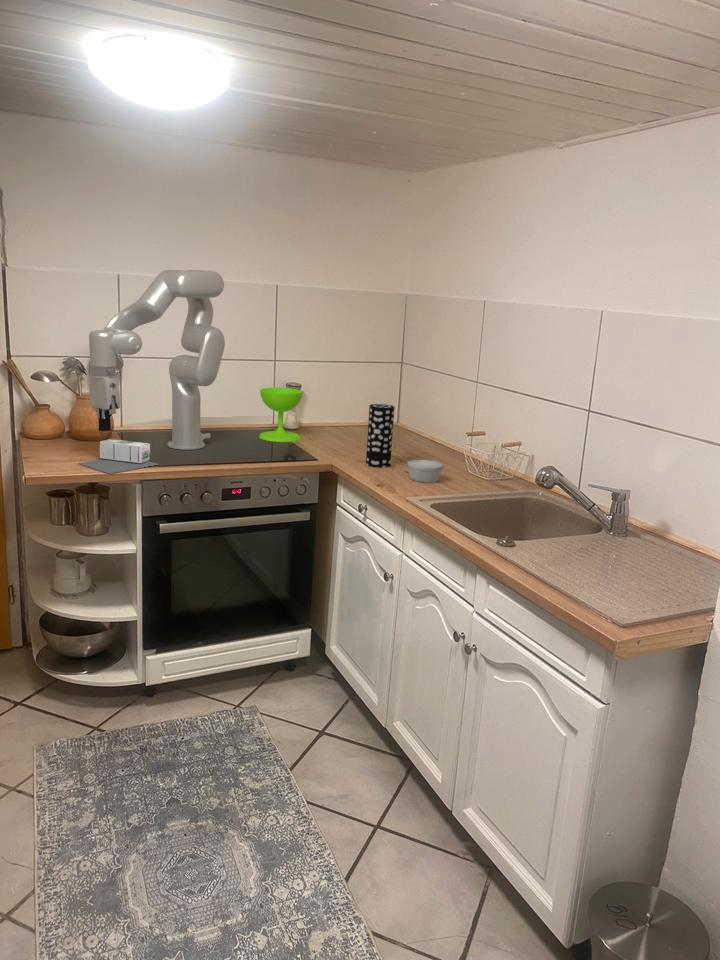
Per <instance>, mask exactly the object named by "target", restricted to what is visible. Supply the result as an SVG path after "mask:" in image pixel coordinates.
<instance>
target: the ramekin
mask: <svg viewBox="0 0 720 960" xmlns="http://www.w3.org/2000/svg"><path fill="white" fill-rule="evenodd" d="M407 468H408V469H407V470H408V477H409V479H410V480H411V481H413V482H417V483H422V484H423V483H424V484H426V483H427V484H433V483H437V482H438V481H439V480H440V478H441V475H442V470H443V464H442V463H441V462H439V461H436V460H430V459H429V460H427V459H413V460H408V461H407Z"/></svg>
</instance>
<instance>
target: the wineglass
mask: <svg viewBox="0 0 720 960" xmlns="http://www.w3.org/2000/svg"><path fill="white" fill-rule="evenodd" d="M259 391H260V397H261V400H262V402H263V404H265V406H266V407H268V408H269V409H270V410H272V411H275V412H278V413H277V414H278V415H277V416H278V417H277V429H276V430H271V431H263V432H261V433H260V434H259V436H258V437H259V439H261V440H264V441H269V442H278V443H290V442H297V441H300V440H301V439H302V437H301V435H299V433H296V432H292V431H286V430H285V429H284V413H285V412H290V411H291V410H293V409H295V408H296V407H297V406H298V405H299V403H300V402H301V400H302V398H303V391H302V390H301V389H298V388H297V389H296V388H290V387H289V388H288V387H265V388H260V390H259Z"/></svg>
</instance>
